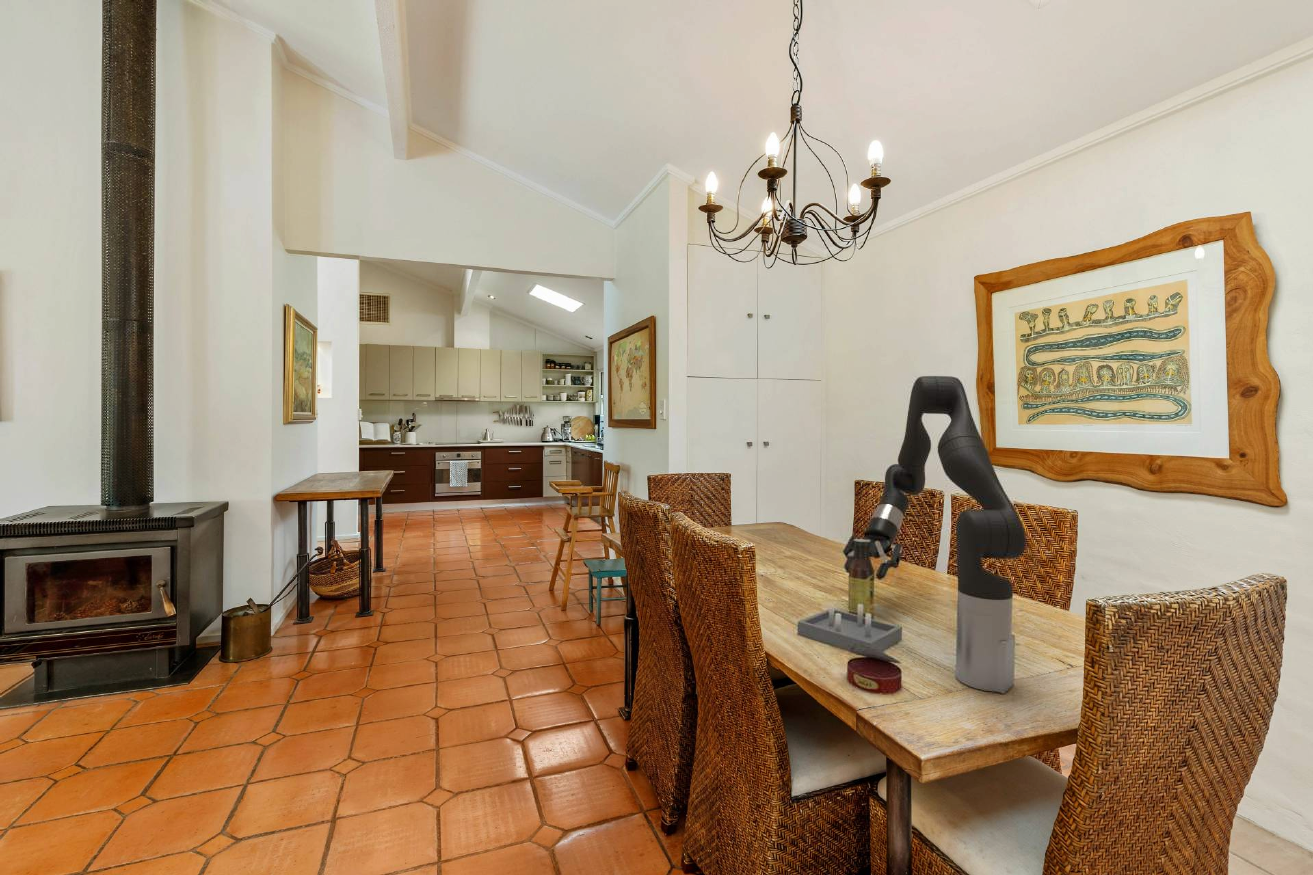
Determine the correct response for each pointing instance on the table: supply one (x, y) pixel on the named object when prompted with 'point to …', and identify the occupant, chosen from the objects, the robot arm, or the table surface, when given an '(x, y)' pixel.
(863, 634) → the pin tray
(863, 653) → the canned food
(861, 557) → the sauce bottle
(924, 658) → the table surface
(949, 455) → the robot arm
